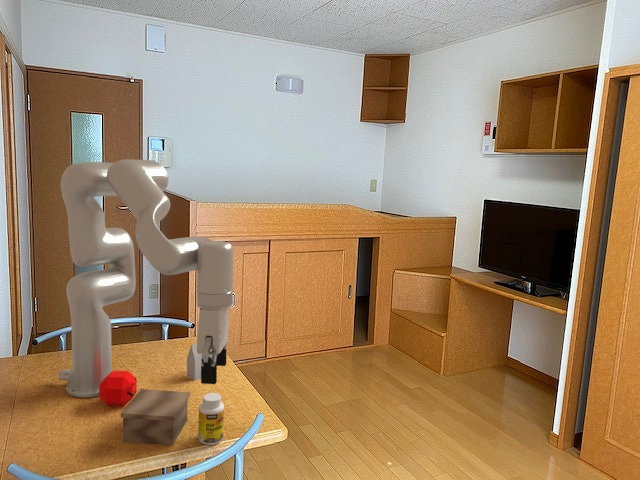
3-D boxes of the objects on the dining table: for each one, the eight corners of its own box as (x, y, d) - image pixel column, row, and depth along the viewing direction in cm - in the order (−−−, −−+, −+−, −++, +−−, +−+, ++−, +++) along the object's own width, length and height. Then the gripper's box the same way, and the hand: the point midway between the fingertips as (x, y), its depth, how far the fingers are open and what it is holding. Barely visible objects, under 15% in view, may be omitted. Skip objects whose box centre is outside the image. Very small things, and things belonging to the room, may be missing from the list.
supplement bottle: (203, 448, 110) (204, 404, 108) (194, 436, 114) (195, 394, 113) (227, 442, 113) (228, 399, 111) (217, 430, 117) (218, 389, 116)
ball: (130, 410, 124) (130, 381, 123) (96, 409, 123) (96, 380, 122) (138, 395, 132) (138, 367, 131) (107, 394, 131) (107, 367, 130)
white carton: (213, 373, 148) (214, 341, 146) (194, 380, 142) (195, 347, 141) (205, 370, 150) (206, 338, 148) (186, 376, 145) (187, 343, 143)
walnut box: (120, 443, 110) (120, 413, 109) (140, 416, 121) (141, 388, 120) (174, 446, 110) (174, 416, 109) (189, 419, 121) (189, 392, 120)
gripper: (207, 288, 117) (207, 358, 119) (186, 308, 100) (186, 390, 102) (239, 289, 117) (238, 360, 119) (223, 310, 100) (222, 392, 102)
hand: (214, 373), depth 111 cm, fingers open, 9 cm apart
